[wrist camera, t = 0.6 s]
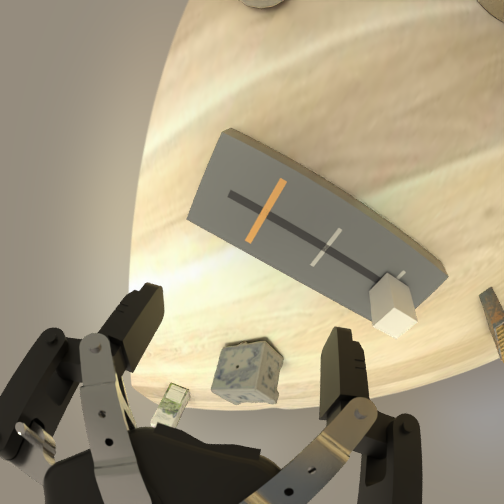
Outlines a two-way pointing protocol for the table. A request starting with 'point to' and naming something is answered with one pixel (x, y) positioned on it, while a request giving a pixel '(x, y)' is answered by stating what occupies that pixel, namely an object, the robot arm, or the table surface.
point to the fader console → (306, 226)
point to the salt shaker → (261, 3)
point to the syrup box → (171, 406)
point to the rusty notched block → (494, 318)
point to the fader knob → (392, 306)
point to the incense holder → (248, 373)
